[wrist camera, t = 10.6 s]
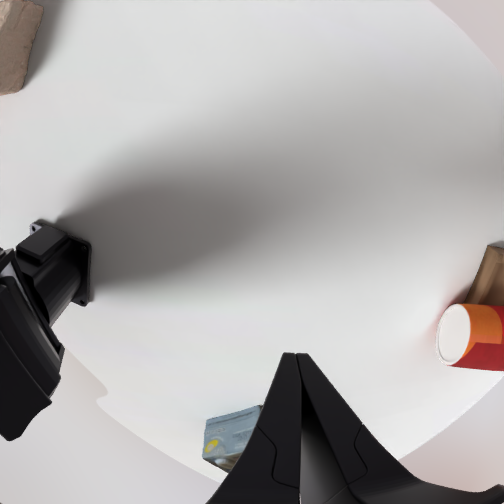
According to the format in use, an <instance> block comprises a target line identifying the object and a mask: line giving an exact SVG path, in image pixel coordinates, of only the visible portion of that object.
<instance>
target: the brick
mask: <svg viewBox="0 0 504 504" xmlns="http://www.w3.org/2000/svg"><path fill="white" fill-rule="evenodd" d="M42 15H43V6H40V5H34V3H33V2H32V1H24V0H4V1H1V2H0V96H1V95H6V94H11V93H16V92H18V91H19V90H20V89H21V88H22V86H23V83H24V79H25V75H26V73H27V65H28V60H29V54H30V50H31V48H32V43H33V40H34V38H35V35H36V32H37V30H38V28H39V25H40V22H41V18H42Z"/></svg>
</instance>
